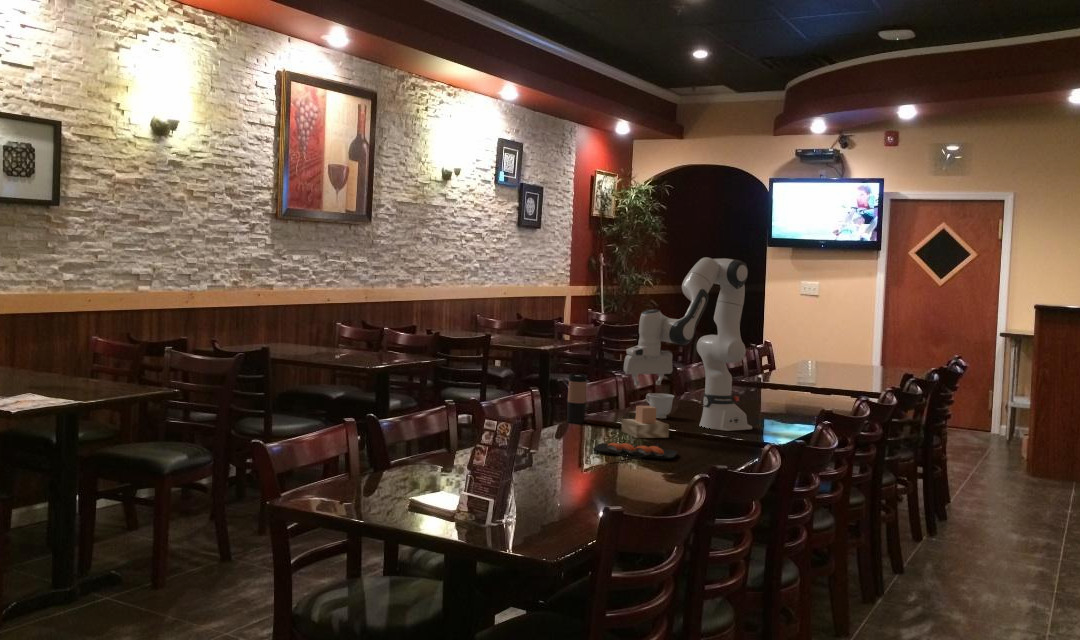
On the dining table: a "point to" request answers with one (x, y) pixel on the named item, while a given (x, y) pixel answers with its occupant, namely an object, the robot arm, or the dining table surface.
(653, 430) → the birch plinth
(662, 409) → the teacup
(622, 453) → the sushi plate
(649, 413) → the terracotta cube
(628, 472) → the dining table surface
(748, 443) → the dining table surface
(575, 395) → the travel mug
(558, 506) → the dining table surface
